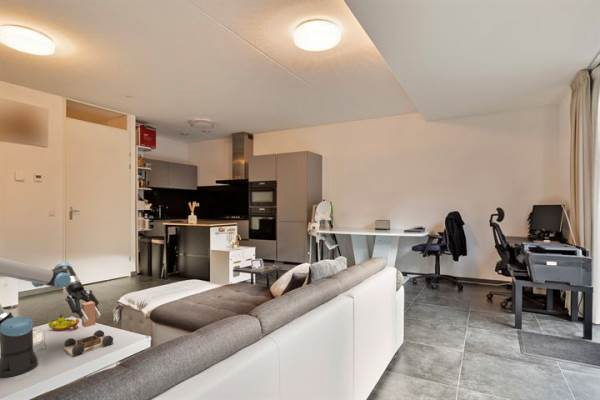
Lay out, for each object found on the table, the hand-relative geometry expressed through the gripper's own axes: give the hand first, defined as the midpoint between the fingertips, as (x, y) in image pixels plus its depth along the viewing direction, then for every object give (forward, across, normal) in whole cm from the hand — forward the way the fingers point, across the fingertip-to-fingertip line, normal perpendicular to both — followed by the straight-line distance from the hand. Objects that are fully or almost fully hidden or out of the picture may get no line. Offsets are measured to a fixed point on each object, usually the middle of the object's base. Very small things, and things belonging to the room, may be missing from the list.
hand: (92, 318), depth 176 cm
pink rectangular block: (0, 0, -5) cm, 5 cm away
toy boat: (-20, -10, -43) cm, 48 cm away
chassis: (+9, 0, -14) cm, 16 cm away
